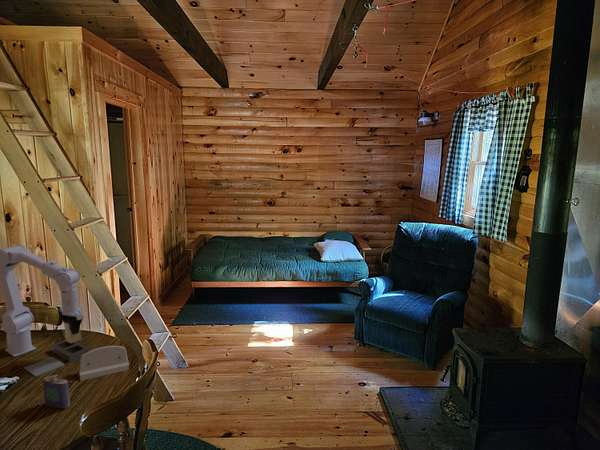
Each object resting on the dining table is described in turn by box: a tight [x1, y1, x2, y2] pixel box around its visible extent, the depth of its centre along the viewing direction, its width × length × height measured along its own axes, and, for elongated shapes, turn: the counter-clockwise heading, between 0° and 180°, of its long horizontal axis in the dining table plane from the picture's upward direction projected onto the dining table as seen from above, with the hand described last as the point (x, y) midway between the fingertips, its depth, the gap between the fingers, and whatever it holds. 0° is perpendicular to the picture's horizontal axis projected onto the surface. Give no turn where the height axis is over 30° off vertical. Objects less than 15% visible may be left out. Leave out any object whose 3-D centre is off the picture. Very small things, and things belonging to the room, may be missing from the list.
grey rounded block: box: [78, 345, 130, 382], centre depth 143 cm, size 17×5×10 cm, turn 119°
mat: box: [23, 356, 66, 378], centre depth 145 cm, size 10×10×1 cm
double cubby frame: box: [50, 339, 91, 363], centre depth 156 cm, size 16×8×2 cm, turn 56°
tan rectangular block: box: [63, 321, 82, 343], centre depth 153 cm, size 4×4×8 cm
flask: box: [42, 373, 71, 410], centre depth 122 cm, size 9×3×11 cm, turn 74°
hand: (72, 332), depth 153 cm, fingers closed on tan rectangular block, 4 cm apart
